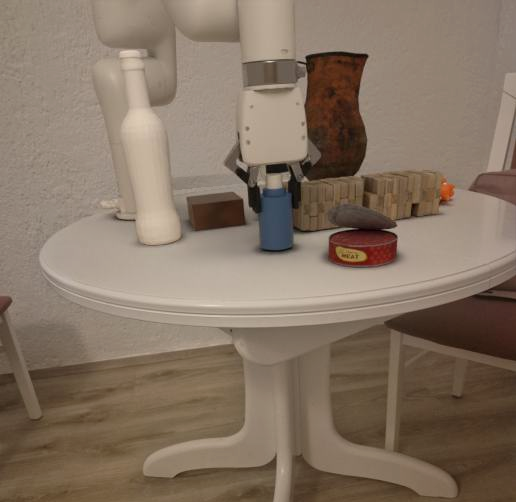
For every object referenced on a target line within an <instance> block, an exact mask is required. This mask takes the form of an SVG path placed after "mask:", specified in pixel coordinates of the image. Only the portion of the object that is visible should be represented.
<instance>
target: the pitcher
mask: <svg viewBox="0 0 516 502" xmlns="http://www.w3.org/2000/svg"><path fill="white" fill-rule="evenodd" d="M369 57H370V55H369V54H368V53H359V52H358V53H357V52H349V51H342V50H339V51H338V50H337V51H324V52H323V51H322V52H317V53H311V54H307V55H305V57H304V59H305V61H302V60H301V61H300V60H296V61H297V64H300V65H305V69H306V95H305V101H304V108H305V115H306V124H307V137H308V138H309V139H310V141H311V142H312V143H313V144H314V145H315V147H316V148H317V149H318V150H319V151H320V153H321V157H320V159H319V160H318V161H317V162H316V163H315V164H314V165H313V166H312V167H311V169H310V170H309V171H308V173H307V174H306V175H305V176H304V178H306V179H307V181H315V180H317V181H318V180H319V179H326V178H340V177H347V176H356V174H358V172H359V171H360V169H361V167H362V165H363V162H364V160H365V158H366V156H367V155H366V154H367V147H368V135H367V131H366V125H365V123H364V120H363V117H362V115H361V112H360V100H359V97H360V89H361V83H362V77H363V73H364V69H365V65H366V64H367V61H368V59H369ZM307 157H308V152H307V156H306V158H307ZM306 158H305V159H306ZM305 159H303V160H301V161H299V164H301V163H302V162H303V161H305Z"/></svg>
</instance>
